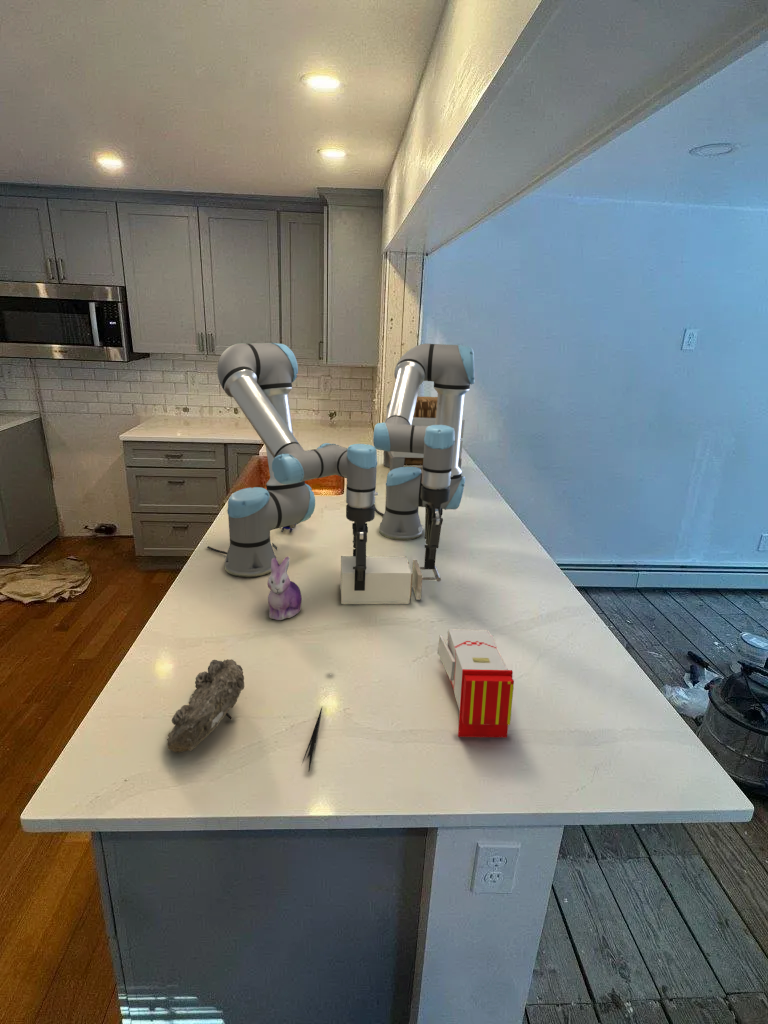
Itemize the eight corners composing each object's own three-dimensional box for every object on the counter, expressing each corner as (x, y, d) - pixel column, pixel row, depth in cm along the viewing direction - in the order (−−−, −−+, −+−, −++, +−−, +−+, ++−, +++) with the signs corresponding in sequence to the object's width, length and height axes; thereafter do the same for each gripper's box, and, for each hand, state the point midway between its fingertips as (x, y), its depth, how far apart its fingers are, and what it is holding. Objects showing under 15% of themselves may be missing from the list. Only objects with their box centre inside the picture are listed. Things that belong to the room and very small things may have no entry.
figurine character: (295, 538, 195) (300, 518, 208) (295, 519, 192) (300, 500, 205) (276, 538, 195) (282, 518, 208) (275, 518, 191) (281, 499, 205)
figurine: (272, 625, 139) (271, 570, 134) (261, 606, 148) (259, 553, 143) (309, 617, 144) (308, 563, 139) (295, 599, 152) (295, 548, 147)
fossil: (192, 660, 117) (244, 628, 112) (224, 691, 120) (276, 661, 115) (142, 746, 98) (202, 712, 93) (182, 779, 101) (242, 748, 96)
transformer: (382, 463, 289) (386, 382, 275) (445, 464, 293) (451, 384, 279) (390, 482, 257) (394, 392, 243) (460, 483, 261) (468, 394, 247)
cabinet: (404, 585, 163) (406, 556, 160) (409, 603, 153) (411, 573, 150) (340, 585, 161) (341, 555, 158) (341, 604, 151) (341, 573, 148)
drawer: (433, 583, 163) (435, 559, 160) (440, 599, 154) (442, 575, 151) (355, 583, 161) (356, 559, 158) (357, 600, 152) (357, 575, 149)
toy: (488, 613, 130) (523, 677, 101) (484, 667, 133) (517, 744, 104) (435, 612, 130) (455, 676, 101) (432, 666, 133) (451, 743, 103)
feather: (331, 679, 122) (336, 673, 122) (307, 777, 96) (313, 769, 95) (324, 675, 122) (329, 669, 121) (298, 772, 95) (304, 764, 95)
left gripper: (378, 520, 137) (375, 600, 144) (371, 490, 159) (369, 561, 166) (347, 520, 136) (345, 601, 144) (344, 490, 158) (343, 561, 166)
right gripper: (455, 493, 142) (447, 578, 150) (445, 478, 154) (438, 558, 162) (425, 492, 141) (419, 578, 149) (417, 478, 153) (412, 558, 161)
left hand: (358, 580), depth 155 cm, fingers closed on cabinet, 11 cm apart
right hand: (429, 567), depth 155 cm, fingers closed
